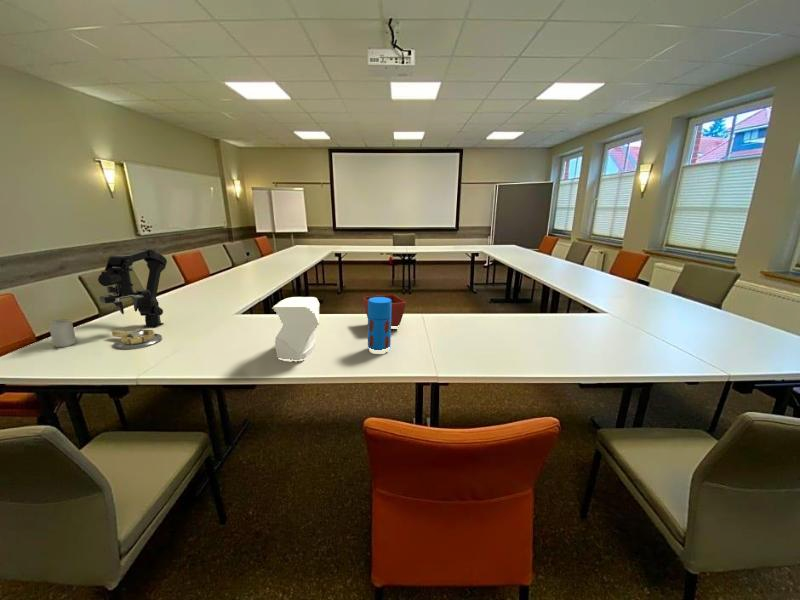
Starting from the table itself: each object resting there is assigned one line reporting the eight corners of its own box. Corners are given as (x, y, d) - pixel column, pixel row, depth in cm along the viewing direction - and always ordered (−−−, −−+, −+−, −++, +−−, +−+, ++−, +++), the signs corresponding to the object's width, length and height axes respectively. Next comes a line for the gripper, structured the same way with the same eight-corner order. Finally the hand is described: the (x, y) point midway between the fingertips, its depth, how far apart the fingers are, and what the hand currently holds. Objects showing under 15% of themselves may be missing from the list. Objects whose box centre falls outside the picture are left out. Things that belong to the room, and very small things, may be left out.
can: (62, 349, 148) (56, 323, 145) (49, 347, 150) (43, 322, 147) (81, 342, 156) (75, 318, 152) (68, 341, 157) (62, 317, 154)
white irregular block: (266, 364, 140) (261, 306, 133) (293, 340, 166) (290, 291, 159) (314, 368, 138) (312, 309, 131) (334, 344, 164) (333, 293, 157)
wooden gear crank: (160, 336, 162) (159, 329, 161) (135, 345, 151) (134, 338, 150) (128, 331, 167) (126, 324, 166) (102, 339, 156) (100, 332, 155)
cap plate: (137, 334, 168) (135, 324, 166) (171, 336, 166) (169, 326, 165) (104, 348, 150) (101, 337, 149) (141, 350, 149) (139, 339, 148)
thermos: (378, 356, 151) (379, 304, 144) (363, 350, 158) (363, 299, 151) (394, 350, 159) (396, 300, 152) (379, 343, 166) (380, 295, 159)
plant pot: (362, 323, 194) (362, 296, 190) (392, 320, 201) (393, 294, 197) (372, 335, 177) (373, 305, 173) (405, 331, 184) (406, 302, 180)
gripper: (137, 276, 171) (142, 305, 175) (91, 282, 155) (98, 314, 159) (148, 279, 166) (153, 309, 170) (102, 286, 150) (109, 318, 154)
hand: (129, 312), depth 163 cm, fingers open, 5 cm apart
